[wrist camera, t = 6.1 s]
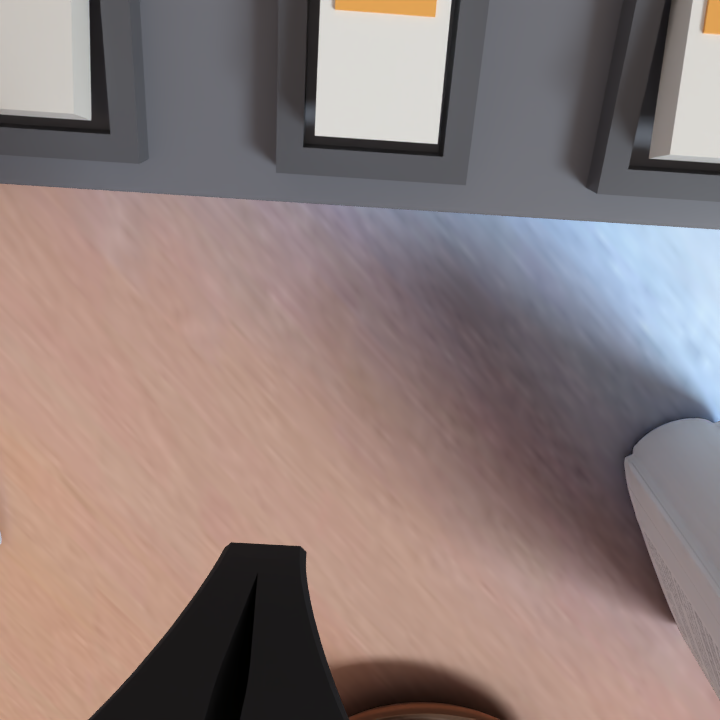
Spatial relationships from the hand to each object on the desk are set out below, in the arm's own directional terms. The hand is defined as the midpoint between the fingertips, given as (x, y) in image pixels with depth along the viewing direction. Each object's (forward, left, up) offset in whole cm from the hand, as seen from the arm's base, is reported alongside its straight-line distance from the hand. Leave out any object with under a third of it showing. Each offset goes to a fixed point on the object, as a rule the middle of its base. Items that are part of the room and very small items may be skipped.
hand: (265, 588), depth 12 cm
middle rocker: (+2, +9, -7) cm, 11 cm away
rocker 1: (-6, +9, -7) cm, 13 cm away
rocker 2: (+9, +9, -7) cm, 14 cm away
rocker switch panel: (+4, +9, -10) cm, 14 cm away
